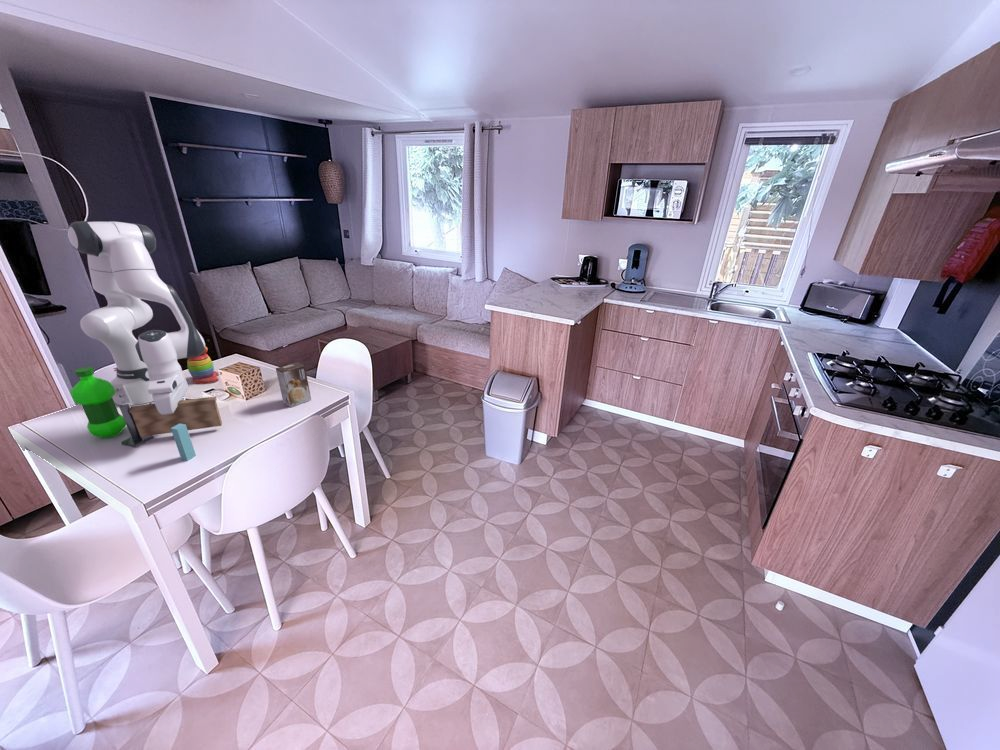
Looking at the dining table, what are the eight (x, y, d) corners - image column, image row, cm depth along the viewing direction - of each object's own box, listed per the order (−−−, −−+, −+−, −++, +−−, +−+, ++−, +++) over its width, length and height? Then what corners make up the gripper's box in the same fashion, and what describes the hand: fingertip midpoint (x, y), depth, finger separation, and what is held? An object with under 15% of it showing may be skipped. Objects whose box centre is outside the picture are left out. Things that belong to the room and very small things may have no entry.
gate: (139, 437, 136) (128, 409, 132) (142, 433, 138) (131, 406, 134) (221, 426, 145) (214, 399, 140) (223, 422, 147) (215, 396, 142)
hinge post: (121, 444, 135) (106, 408, 130) (139, 435, 141) (126, 400, 135) (136, 447, 134) (121, 411, 128) (153, 437, 140) (140, 402, 134)
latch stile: (181, 459, 130) (170, 428, 125) (189, 454, 132) (179, 423, 127) (187, 460, 129) (176, 429, 124) (196, 455, 132) (185, 424, 127)
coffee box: (303, 395, 173) (297, 361, 166) (311, 400, 169) (305, 365, 163) (282, 403, 166) (275, 367, 159) (290, 408, 162) (283, 372, 156)
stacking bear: (218, 382, 180) (208, 345, 173) (191, 386, 175) (179, 348, 168) (218, 373, 189) (209, 337, 181) (192, 377, 184) (181, 340, 176)
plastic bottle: (84, 443, 135) (52, 377, 124) (102, 427, 144) (75, 364, 134) (119, 440, 137) (92, 374, 127) (136, 424, 147) (111, 362, 136)
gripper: (165, 367, 143) (177, 400, 149) (145, 392, 126) (159, 428, 132) (186, 365, 146) (197, 398, 152) (169, 389, 129) (182, 425, 135)
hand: (179, 412), depth 142 cm, fingers closed
